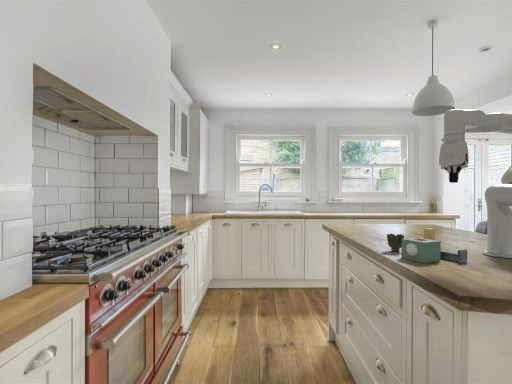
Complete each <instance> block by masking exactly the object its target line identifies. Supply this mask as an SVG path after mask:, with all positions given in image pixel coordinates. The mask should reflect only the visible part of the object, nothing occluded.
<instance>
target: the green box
mask: <svg viewBox="0 0 512 384" xmlns="http://www.w3.org/2000/svg"><path fill="white" fill-rule="evenodd" d="M417 238H418V237H411V238H408V237H407V238H404V239H402V247H401V259H405V260H409V261H414V262H416V263H417V262H418V263H420V264H421V263H422V264H427V263H433V262H434V263H436V262H441V258H440V250H441V240H436V239H435V240H430V239H425V241H419V240H417Z"/></svg>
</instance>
